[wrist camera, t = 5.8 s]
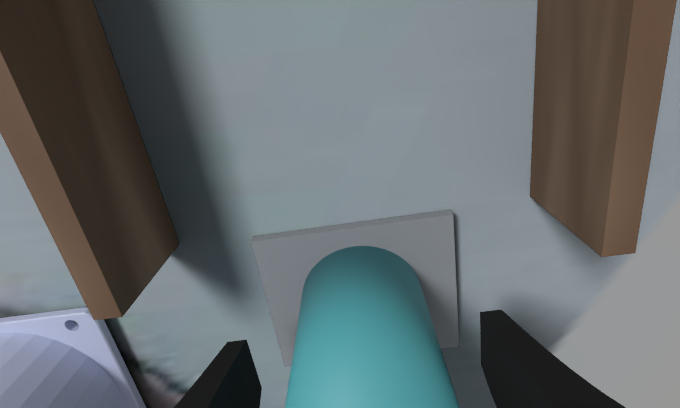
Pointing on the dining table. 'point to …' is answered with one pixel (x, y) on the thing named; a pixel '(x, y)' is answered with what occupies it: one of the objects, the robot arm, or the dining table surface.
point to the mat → (391, 234)
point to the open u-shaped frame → (146, 198)
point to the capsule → (366, 337)
